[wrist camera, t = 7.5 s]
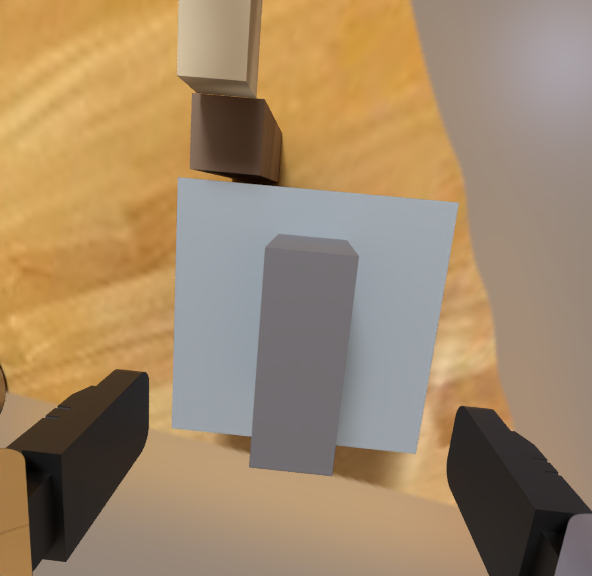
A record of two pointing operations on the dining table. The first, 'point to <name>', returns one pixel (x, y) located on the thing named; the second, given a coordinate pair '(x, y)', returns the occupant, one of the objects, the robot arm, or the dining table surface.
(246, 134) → the toolbox
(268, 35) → the dining table surface
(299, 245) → the lid
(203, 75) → the wooden key
